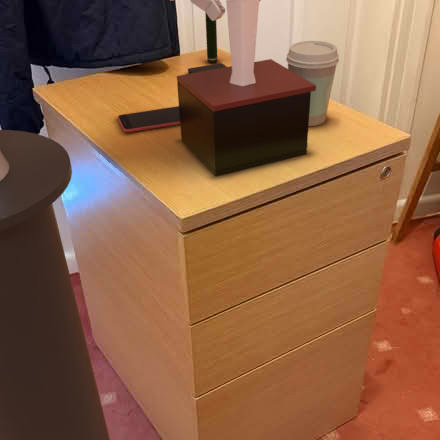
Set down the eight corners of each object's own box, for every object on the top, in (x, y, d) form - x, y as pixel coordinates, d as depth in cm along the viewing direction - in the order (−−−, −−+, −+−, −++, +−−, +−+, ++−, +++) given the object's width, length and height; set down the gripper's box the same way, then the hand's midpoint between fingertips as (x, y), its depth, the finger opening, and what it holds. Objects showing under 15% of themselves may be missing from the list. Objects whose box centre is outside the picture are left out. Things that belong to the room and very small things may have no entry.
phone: (221, 61, 121) (253, 84, 110) (221, 68, 122) (252, 91, 111) (186, 67, 119) (215, 91, 108) (187, 74, 120) (216, 98, 109)
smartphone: (203, 118, 100) (123, 130, 97) (203, 121, 101) (124, 133, 98) (192, 103, 106) (116, 114, 102) (192, 106, 106) (116, 118, 103)
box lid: (270, 63, 94) (271, 58, 93) (315, 90, 84) (316, 85, 84) (176, 81, 89) (176, 75, 88) (213, 111, 79) (213, 106, 79)
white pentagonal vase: (246, 73, 88) (246, -38, 79) (263, 81, 85) (265, -34, 76) (221, 80, 86) (218, -34, 77) (237, 88, 83) (236, -29, 74)
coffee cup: (335, 129, 97) (342, 55, 89) (283, 129, 97) (287, 56, 90) (330, 109, 103) (337, 39, 96) (282, 109, 104) (285, 39, 96)
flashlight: (195, 63, 125) (190, -43, 112) (210, 56, 128) (206, -47, 115) (214, 67, 123) (211, -40, 110) (228, 60, 126) (227, -45, 113)
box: (265, 122, 100) (266, 64, 94) (306, 154, 90) (311, 91, 84) (181, 141, 95) (176, 81, 89) (215, 176, 85) (213, 112, 79)
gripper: (138, -90, 69) (207, 10, 71) (234, -106, 82) (290, -21, 83) (115, -50, 74) (181, 42, 75) (209, -71, 87) (263, 9, 88)
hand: (239, 9), depth 80 cm, fingers open, 8 cm apart
